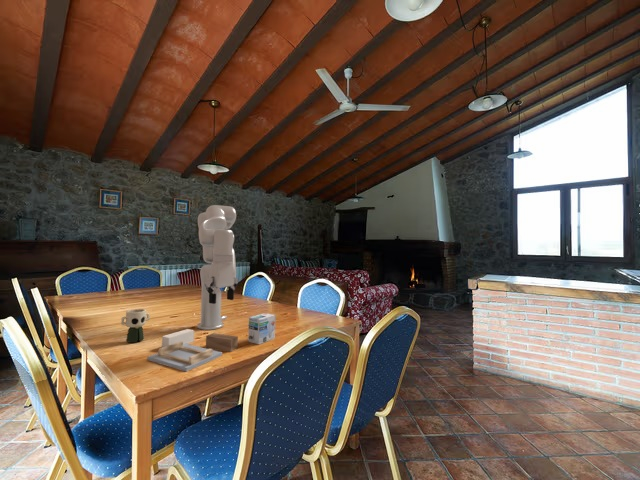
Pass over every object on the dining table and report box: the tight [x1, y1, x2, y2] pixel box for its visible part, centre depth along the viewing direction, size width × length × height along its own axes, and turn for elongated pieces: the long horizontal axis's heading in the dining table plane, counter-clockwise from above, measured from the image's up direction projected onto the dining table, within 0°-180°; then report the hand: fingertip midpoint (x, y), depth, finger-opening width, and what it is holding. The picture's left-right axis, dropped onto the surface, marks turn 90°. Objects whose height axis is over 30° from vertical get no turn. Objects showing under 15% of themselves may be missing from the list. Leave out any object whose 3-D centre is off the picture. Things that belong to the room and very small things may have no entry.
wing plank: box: [161, 328, 195, 348], centre depth 122 cm, size 12×4×5 cm, turn 154°
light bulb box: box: [247, 312, 276, 345], centre depth 130 cm, size 11×7×11 cm, turn 148°
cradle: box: [157, 342, 214, 365], centre depth 107 cm, size 9×17×2 cm, turn 64°
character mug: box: [120, 308, 151, 343], centre depth 124 cm, size 11×7×13 cm, turn 144°
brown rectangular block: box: [205, 332, 239, 353], centre depth 119 cm, size 4×12×5 cm, turn 71°
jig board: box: [147, 343, 223, 372], centre depth 108 cm, size 16×20×1 cm
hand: (221, 301), depth 119 cm, fingers open, 9 cm apart
